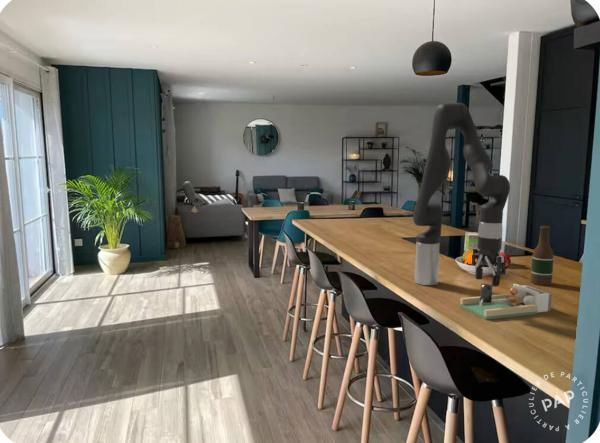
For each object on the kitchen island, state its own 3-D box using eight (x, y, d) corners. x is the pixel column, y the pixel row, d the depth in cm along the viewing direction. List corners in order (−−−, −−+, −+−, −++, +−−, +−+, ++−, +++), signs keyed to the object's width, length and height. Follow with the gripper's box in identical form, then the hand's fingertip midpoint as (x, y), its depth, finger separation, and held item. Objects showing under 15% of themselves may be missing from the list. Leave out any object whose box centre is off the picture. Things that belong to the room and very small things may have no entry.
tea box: (467, 265, 229) (468, 234, 227) (463, 260, 239) (464, 231, 236) (499, 266, 226) (501, 235, 224) (494, 261, 236) (496, 232, 234)
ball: (531, 295, 167) (528, 306, 168) (522, 293, 166) (519, 304, 166) (540, 298, 163) (536, 309, 164) (530, 296, 162) (527, 307, 163)
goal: (511, 302, 170) (513, 283, 169) (526, 301, 172) (527, 282, 171) (535, 312, 159) (536, 292, 158) (550, 311, 161) (552, 291, 160)
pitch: (460, 306, 166) (460, 298, 165) (508, 301, 171) (508, 293, 171) (485, 319, 152) (486, 310, 152) (537, 314, 158) (537, 305, 157)
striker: (475, 305, 162) (477, 283, 161) (510, 301, 166) (512, 280, 165) (485, 309, 157) (486, 287, 156) (521, 306, 161) (522, 284, 160)
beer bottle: (526, 282, 197) (530, 225, 194) (540, 280, 200) (544, 224, 197) (541, 286, 190) (545, 228, 187) (556, 284, 193) (560, 227, 190)
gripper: (467, 232, 162) (464, 277, 165) (494, 240, 149) (491, 289, 151) (485, 231, 164) (482, 276, 167) (514, 238, 151) (511, 287, 153)
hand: (486, 282), depth 159 cm, fingers open, 8 cm apart
